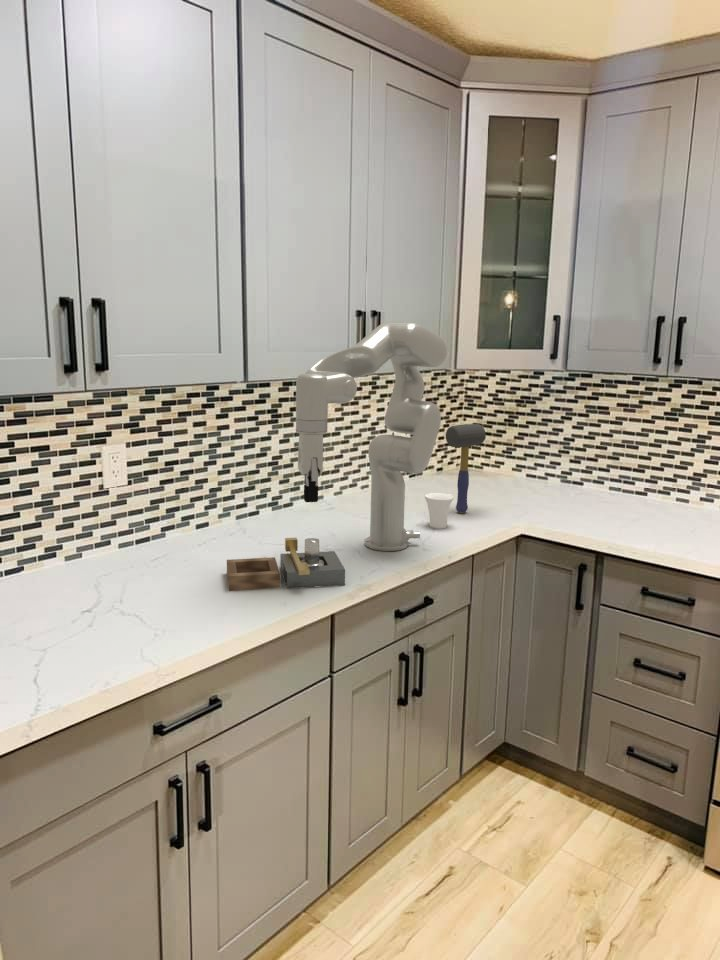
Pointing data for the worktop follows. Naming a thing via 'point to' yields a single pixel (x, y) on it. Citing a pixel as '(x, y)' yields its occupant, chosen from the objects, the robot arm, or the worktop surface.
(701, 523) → the worktop surface
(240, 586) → the frame
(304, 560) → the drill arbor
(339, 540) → the worktop surface
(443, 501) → the cup
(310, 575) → the spindle block
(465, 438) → the rubber mallet
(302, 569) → the brass key
